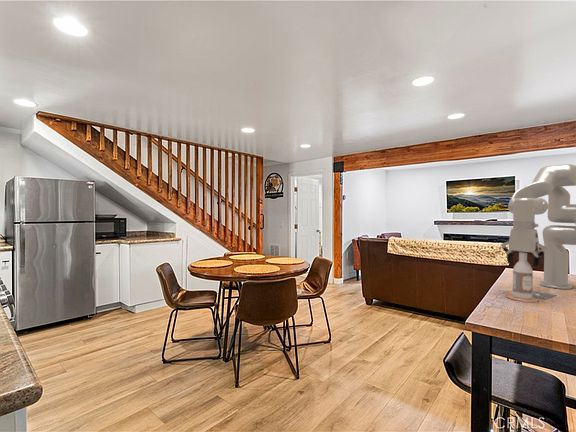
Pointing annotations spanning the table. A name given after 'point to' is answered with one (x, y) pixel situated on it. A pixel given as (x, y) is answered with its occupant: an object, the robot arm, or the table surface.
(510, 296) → the flat salmon disc
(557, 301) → the table surface
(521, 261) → the bath foam
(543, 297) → the tile
